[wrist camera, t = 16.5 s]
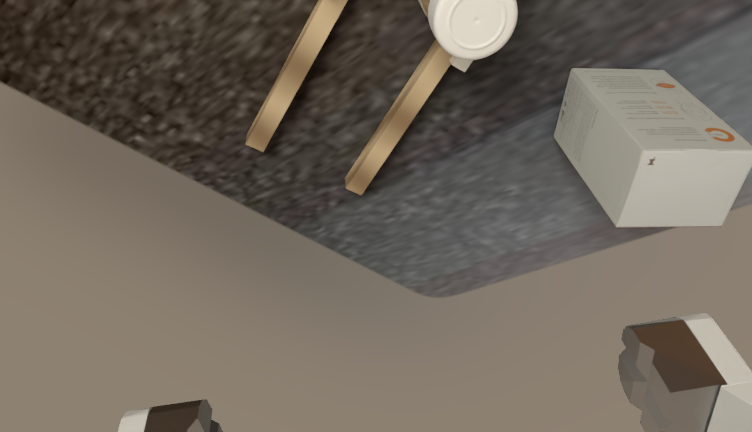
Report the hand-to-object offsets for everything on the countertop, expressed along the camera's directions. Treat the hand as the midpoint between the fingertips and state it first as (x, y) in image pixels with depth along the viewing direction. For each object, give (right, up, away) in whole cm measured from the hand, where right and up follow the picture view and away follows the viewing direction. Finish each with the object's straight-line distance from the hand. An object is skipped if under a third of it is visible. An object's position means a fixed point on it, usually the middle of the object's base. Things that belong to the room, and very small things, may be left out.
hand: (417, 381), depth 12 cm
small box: (+18, +13, +39) cm, 45 cm away
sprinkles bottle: (+3, +21, +31) cm, 38 cm away
